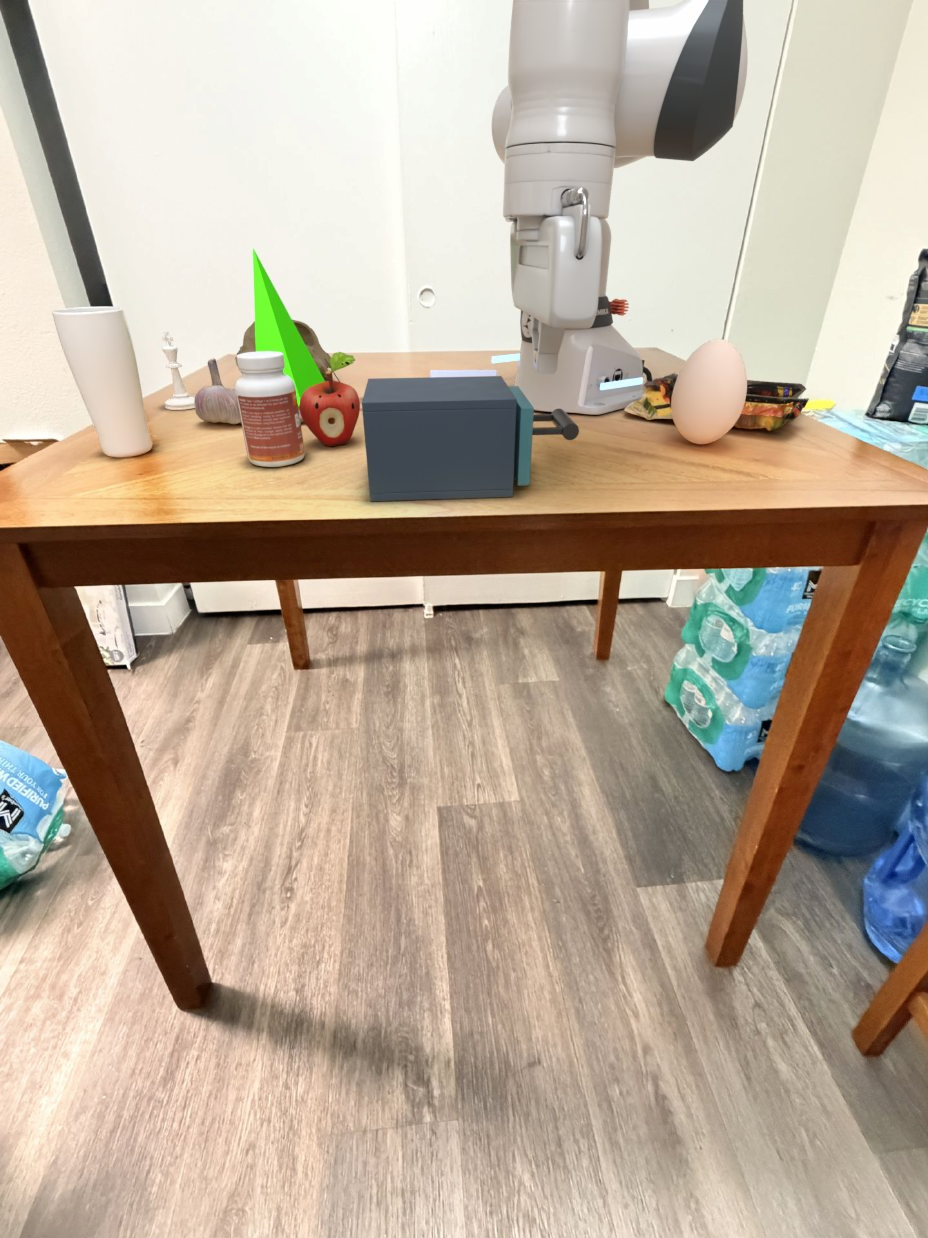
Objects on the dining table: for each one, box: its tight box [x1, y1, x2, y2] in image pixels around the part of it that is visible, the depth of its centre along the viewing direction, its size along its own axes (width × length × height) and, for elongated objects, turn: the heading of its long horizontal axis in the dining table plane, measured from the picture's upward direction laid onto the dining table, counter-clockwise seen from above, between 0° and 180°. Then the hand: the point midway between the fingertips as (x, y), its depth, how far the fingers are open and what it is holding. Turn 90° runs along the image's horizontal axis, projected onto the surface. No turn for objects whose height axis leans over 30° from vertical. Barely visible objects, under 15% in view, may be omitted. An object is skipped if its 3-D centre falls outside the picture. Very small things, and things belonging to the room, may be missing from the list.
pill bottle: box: [234, 351, 306, 468], centre depth 67 cm, size 6×6×11 cm
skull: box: [234, 319, 332, 381], centre depth 101 cm, size 17×18×14 cm
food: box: [624, 373, 810, 432], centre depth 84 cm, size 22×19×4 cm
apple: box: [299, 351, 361, 447], centre depth 73 cm, size 8×7×10 cm
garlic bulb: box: [194, 357, 241, 425], centre depth 81 cm, size 8×7×8 cm
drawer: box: [507, 385, 580, 486], centre depth 62 cm, size 17×9×7 cm, turn 94°
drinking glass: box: [51, 305, 153, 458], centre depth 69 cm, size 7×7×15 cm
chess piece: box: [161, 331, 195, 411], centre depth 90 cm, size 5×5×10 cm
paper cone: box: [252, 247, 325, 423], centre depth 85 cm, size 11×5×25 cm
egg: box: [671, 338, 748, 445], centre depth 71 cm, size 8×8×11 cm
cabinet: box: [361, 375, 517, 502], centre depth 62 cm, size 14×11×9 cm
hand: (543, 371), depth 59 cm, fingers closed
